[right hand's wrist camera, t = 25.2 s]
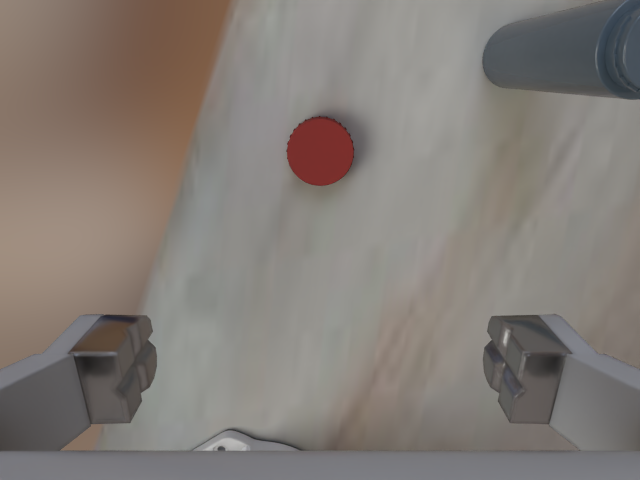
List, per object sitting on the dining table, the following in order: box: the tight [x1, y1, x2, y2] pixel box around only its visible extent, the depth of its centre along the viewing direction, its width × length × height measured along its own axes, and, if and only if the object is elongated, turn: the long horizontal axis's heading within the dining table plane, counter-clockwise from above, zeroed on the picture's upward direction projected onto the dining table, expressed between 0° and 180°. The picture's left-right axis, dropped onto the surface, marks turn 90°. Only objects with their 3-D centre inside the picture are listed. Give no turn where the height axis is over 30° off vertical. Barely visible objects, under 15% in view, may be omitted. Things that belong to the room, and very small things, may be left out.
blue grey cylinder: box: [483, 0, 640, 100], centre depth 26 cm, size 5×5×16 cm
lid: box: [287, 116, 354, 186], centre depth 35 cm, size 5×5×2 cm
